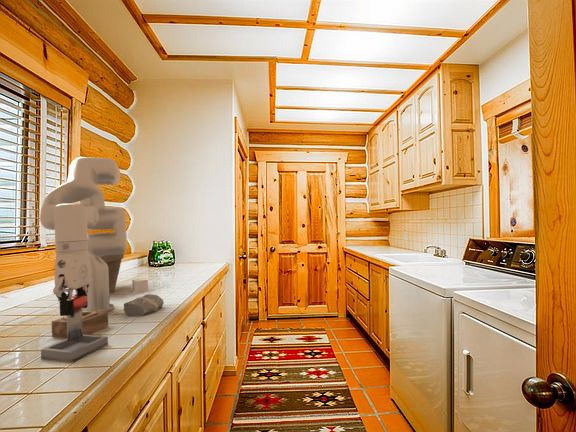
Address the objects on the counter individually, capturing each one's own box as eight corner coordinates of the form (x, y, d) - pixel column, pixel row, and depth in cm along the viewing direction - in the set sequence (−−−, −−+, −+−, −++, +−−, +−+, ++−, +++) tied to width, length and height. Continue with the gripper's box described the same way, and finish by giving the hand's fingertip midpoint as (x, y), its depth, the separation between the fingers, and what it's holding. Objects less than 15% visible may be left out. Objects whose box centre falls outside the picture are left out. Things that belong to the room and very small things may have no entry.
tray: (41, 358, 83) (40, 349, 83) (78, 342, 93) (78, 333, 93) (73, 362, 80) (72, 352, 80) (108, 344, 91) (107, 336, 91)
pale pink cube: (148, 291, 158) (147, 279, 158) (135, 293, 154) (134, 281, 154) (145, 289, 162) (144, 277, 162) (132, 291, 159) (132, 279, 159)
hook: (64, 344, 82) (62, 302, 82) (60, 339, 86) (58, 298, 86) (90, 338, 86) (89, 297, 87) (85, 332, 91) (83, 294, 91)
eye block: (52, 336, 99) (51, 319, 99) (83, 324, 109) (82, 308, 109) (79, 339, 96) (78, 321, 96) (108, 326, 106) (107, 310, 106)
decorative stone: (145, 306, 130) (144, 292, 130) (167, 307, 128) (166, 293, 128) (123, 317, 117) (123, 301, 117) (147, 317, 115) (147, 301, 115)
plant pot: (81, 302, 139) (79, 255, 139) (58, 296, 153) (56, 253, 153) (134, 290, 160) (133, 248, 160) (110, 285, 174) (108, 247, 174)
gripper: (67, 250, 78) (69, 320, 78) (101, 244, 95) (103, 302, 95) (35, 251, 78) (38, 322, 78) (76, 245, 95) (78, 303, 95)
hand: (74, 310), depth 87 cm, fingers closed on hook, 6 cm apart
